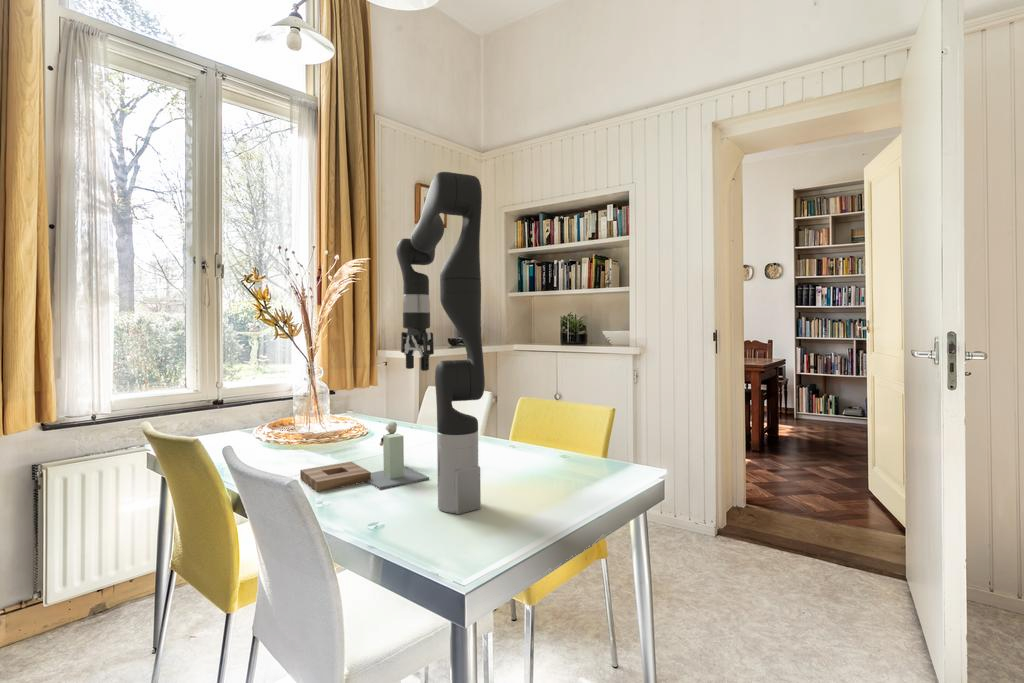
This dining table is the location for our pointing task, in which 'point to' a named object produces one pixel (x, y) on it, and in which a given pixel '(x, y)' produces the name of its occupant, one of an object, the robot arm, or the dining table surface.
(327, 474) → the walnut pocket block
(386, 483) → the slate mat
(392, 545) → the dining table surface
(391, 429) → the grandmother figurine
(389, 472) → the sage peg
